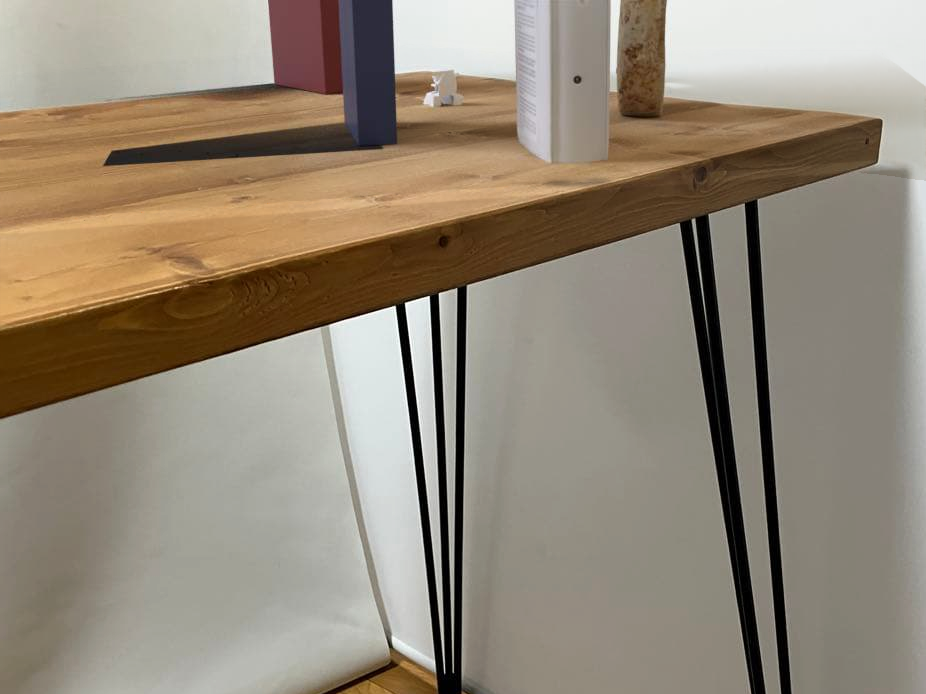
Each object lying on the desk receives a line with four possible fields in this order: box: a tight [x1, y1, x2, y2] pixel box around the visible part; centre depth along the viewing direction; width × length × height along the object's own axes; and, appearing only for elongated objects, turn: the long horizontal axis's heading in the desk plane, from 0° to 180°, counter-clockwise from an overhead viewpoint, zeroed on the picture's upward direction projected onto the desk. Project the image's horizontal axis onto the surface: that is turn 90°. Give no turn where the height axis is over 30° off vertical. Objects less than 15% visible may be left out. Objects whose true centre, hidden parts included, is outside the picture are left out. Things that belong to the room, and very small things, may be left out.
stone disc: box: [615, 0, 668, 118], centre depth 82 cm, size 10×4×10 cm, turn 171°
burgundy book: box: [267, 0, 343, 95], centre depth 98 cm, size 14×10×2 cm
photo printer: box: [513, 0, 612, 164], centre depth 67 cm, size 10×4×12 cm, turn 13°
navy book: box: [338, 0, 398, 147], centre depth 74 cm, size 14×10×2 cm
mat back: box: [103, 82, 338, 107], centre depth 96 cm, size 17×13×1 cm
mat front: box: [103, 122, 385, 167], centre depth 74 cm, size 17×13×1 cm
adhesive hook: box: [422, 69, 464, 108], centre depth 89 cm, size 3×3×3 cm
